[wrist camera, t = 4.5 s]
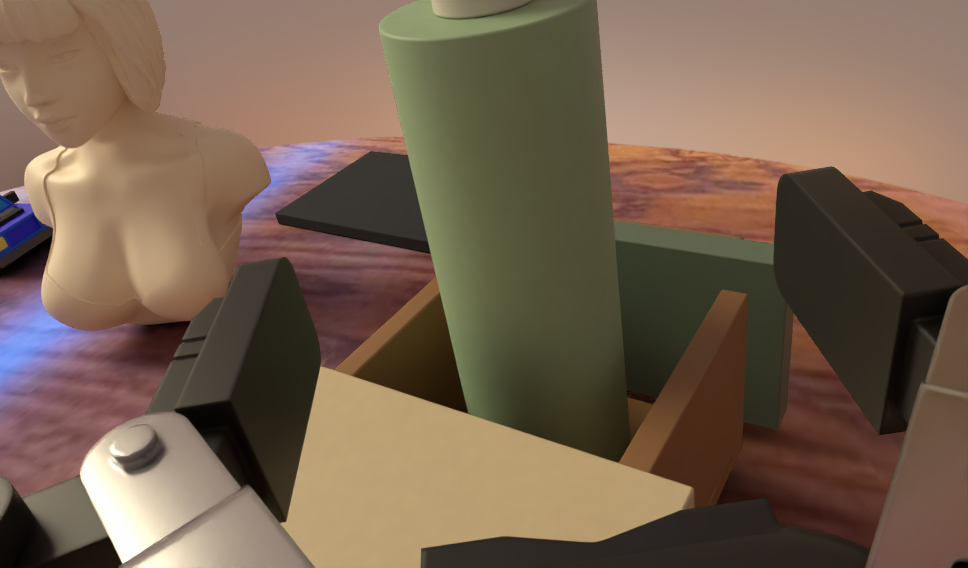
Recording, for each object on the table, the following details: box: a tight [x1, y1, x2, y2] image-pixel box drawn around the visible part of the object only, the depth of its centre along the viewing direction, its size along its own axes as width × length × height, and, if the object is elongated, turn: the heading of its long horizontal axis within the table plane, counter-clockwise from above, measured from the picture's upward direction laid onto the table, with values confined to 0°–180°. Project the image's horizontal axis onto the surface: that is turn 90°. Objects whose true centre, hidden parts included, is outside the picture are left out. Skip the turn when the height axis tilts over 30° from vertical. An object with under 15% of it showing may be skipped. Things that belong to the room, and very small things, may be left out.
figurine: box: [0, 0, 271, 331], centre depth 37 cm, size 14×9×20 cm
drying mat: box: [276, 151, 431, 253], centre depth 48 cm, size 16×10×1 cm, turn 58°
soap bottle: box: [379, 0, 631, 463], centre depth 20 cm, size 5×5×17 cm
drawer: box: [334, 219, 794, 508], centre depth 25 cm, size 19×12×7 cm, turn 148°
